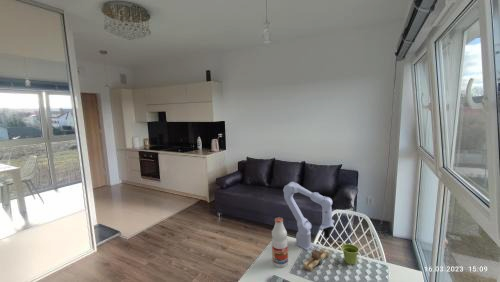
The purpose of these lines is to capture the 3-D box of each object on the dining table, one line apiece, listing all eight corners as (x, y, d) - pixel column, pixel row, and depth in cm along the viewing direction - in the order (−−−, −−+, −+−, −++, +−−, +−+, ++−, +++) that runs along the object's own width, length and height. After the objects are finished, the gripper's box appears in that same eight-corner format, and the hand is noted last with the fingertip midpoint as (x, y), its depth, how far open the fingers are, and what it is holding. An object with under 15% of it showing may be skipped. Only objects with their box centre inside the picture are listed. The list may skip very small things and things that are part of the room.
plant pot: (356, 269, 132) (356, 254, 131) (339, 263, 137) (339, 249, 136) (360, 260, 139) (360, 246, 138) (344, 255, 145) (344, 242, 144)
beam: (311, 272, 130) (311, 267, 130) (302, 267, 135) (302, 262, 135) (330, 257, 144) (330, 252, 143) (320, 252, 148) (320, 248, 148)
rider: (317, 262, 136) (317, 254, 136) (311, 259, 139) (311, 252, 139) (321, 259, 139) (321, 252, 138) (315, 256, 142) (315, 249, 141)
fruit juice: (284, 256, 146) (282, 214, 143) (290, 266, 137) (289, 221, 134) (270, 260, 143) (268, 217, 140) (276, 269, 134) (274, 224, 131)
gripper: (326, 222, 139) (327, 244, 140) (338, 215, 148) (338, 235, 150) (316, 219, 144) (316, 239, 146) (328, 211, 154) (328, 231, 155)
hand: (327, 237), depth 148 cm, fingers closed
